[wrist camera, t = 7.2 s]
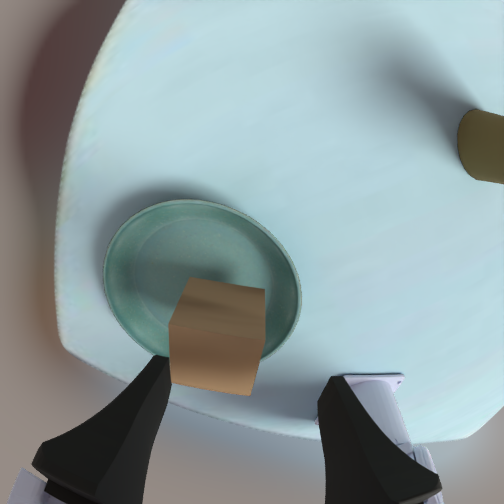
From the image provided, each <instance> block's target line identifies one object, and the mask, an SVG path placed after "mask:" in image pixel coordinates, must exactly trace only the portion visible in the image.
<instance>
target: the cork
mask: <svg viewBox="0 0 504 504" xmlns="http://www.w3.org/2000/svg"><path fill="white" fill-rule="evenodd" d="M457 139H458V151H459V156H460V159H461V162H462V164H463V166H464V169H465V170H466V171H467V172H468V174H469V175H470V176H471V177H473V178H475V179H476V180H481V181H488V182H494V183H500V184H504V116H501V115H497V114H494V113H490V112H486V111H481V110H477V109H475V110H471V111H469V112H468V113H466V114H465V115H464V116H463V118H462V120H461V122H460V124H459V130H458V135H457Z"/></svg>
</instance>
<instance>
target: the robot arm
mask: <svg viewBox="0 0 504 504" xmlns="http://www.w3.org/2000/svg"><path fill="white" fill-rule="evenodd" d="M404 379H405V376H404V374H396V375H345V376H331V377H330V379H329V381H328V383H327V385H326V387H325V388H324V390H323V392H322V394H321V396H320V398H319V400H318V401H317V402H318V417H317V418H316V420H315V424H316V425H319V429H320V435H321V440H322V446H323V452H324V457H325V471H326V496H325V504H445V503H443V497H442V493H441V490H442V486H441V482H440V479H439V476H438V474H437V472H436V469H435V466H434V463H433V460H432V457H431V455H430V453H429V451H428V449H427V447H424V446H421V445H418V446H416V447H414V446H413V445H412V443H411V440H410V437H409V434H408V431H407V428H406V425H405V423H404V420H403V417H402V414H401V411H400V409H399V406H398V403H397V401H396V398H395V396H394V393H395V391H396V390H397V389H398V387H399V386H400V385H401V383H402V382H403V380H404ZM171 386H172V384H171V374H170V362H169V357H165V356H160V355H154V356H153V358H152V359H151V360H150V361H149V363H148V364H147V365H146V366H145V368H144V369H143V370H142V371H141V372H140V373H139V375H138V376H137V377H136V378H135V379H134V380H133V381H132V382H131V383H130V384H129V385H128V387H127V388H126V389H125V390H124V391H122V392H121V394H119V395H118V396H117V397H116V398H115V399H114V400H113V401H112V402H111V403H110V404H108V405H107V406H106V407H105V408H103V409H102V410H101V411H100V412H98V413H97V414H96V415H94V416H93V417H91V418H90V419H88V420H87V421H85V422H84V423H82V424H81V425H79V426H77V427H75V428H73V429H72V430H70V431H68V432H66V433H64V434H62V435H60V436H57V437H55V438H53V439H50V440H48V441H45V442H43V443H42V444H41V446H40V447H39V449H38V451H37V453H36V455H35V457H34V459H33V462H32V466H33V467H34V468H35V469H36V470H37V471H39V472H40V473H41V474H43V475H44V476H45V477H46V478H48V481H47V483H46V482H44V481H43V480H41V479H40V478H38V477H36V476H35V475H33V474H32V473H30V472H28V471H27V470H26V469H24V468H21V469H20V472H19V474H18V476H17V478H16V481H15V483H14V486H13V488H12V491H11V493H10V496H9V498H8V501H7V504H142V501H143V493H144V486H145V480H146V474H147V469H148V464H149V459H150V454H151V450H152V446H153V443H154V440H155V437H156V434H157V431H158V429H159V426H160V423H161V420H162V418H163V415H164V412H165V409H166V406H167V403H168V399H169V395H170V390H171Z"/></svg>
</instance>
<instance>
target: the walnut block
mask: <svg viewBox="0 0 504 504" xmlns="http://www.w3.org/2000/svg"><path fill="white" fill-rule="evenodd" d="M168 330H169V356H170V373H171V383H175V384H180V385H185V386H190V387H195V388H200V389H206V390H211V391H217V392H224V393H231V394H238V395H246V396H250V395H251V391H252V388H253V384H254V381H255V377H256V373H257V370H258V366H259V363H260V359H261V355H262V351H263V348H264V344H265V289H262V288H255V287H249V286H242V285H236V284H230V283H224V282H218V281H212V280H206V279H200V278H194V277H189V279H188V282H187V284H186V286H185V288H184V290H183V292H182V295H181V297H180V299H179V301H178V303H177V306H176V308H175V310H174V312H173V315H172V317H171V319H170V321H169V324H168Z"/></svg>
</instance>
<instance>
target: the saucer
mask: <svg viewBox="0 0 504 504" xmlns="http://www.w3.org/2000/svg"><path fill="white" fill-rule="evenodd" d="M189 277H194V278H200V279H206V280H212V281H218V282H224V283H230V284H236V285H242V286H249V287H255V288H262V289H265V344H264V348H263V351H262V355H261V359H260V362H262V361H264V360H265V359H267V358H269V357H270V356H271V355H273V354H274V353H275V352H277V351H278V350H279V349H280V348H281V347H282V346H283V345H284V344H285V342H286V341H287V340H288V339H289V337H290V336H291V334H292V333H293V331H294V329H295V327H296V325H297V323H298V320H299V316H300V312H301V306H302V292H301V285H300V280H299V276H298V273H297V271H296V268H295V266H294V264H293V262H292V260H291V258H290V256H289V255H288V253H287V252H286V250H285V249H284V247H283V246H282V245H281V243H280V242H279V241H278V240H277V239H276V238H275V237H274V235H273V234H272V233H270V232H269V231H268V230H267V229H266V228H265V227H263V226H262V225H261V224H260V223H258V222H257V221H255V220H254V219H252V218H251V217H249V216H247V215H245V214H243V213H241V212H239V211H237V210H235V209H233V208H230V207H227V206H225V205H222V204H218V203H214V202H209V201H203V200H193V199H178V200H170V201H166V202H161V203H158V204H155V205H152V206H149V207H147V208H145V209H143V210H141V211H139V212H138V213H136V214H134V215H133V216H132V217H130V218H129V219H128V220H127V221H126V222H125V223H124V224H123V225H122V226H121V227H120V228H119V229H118V230H117V232H116V233H115V235H114V237H113V238H112V240H111V242H110V244H109V246H108V249H107V251H106V256H105V259H104V266H103V283H104V290H105V294H106V297H107V301H108V303H109V306H110V308H111V310H112V312H113V314H114V316H115V317H116V319H117V321H118V322H119V324H120V325H121V327H122V328H123V329H124V330H125V331H126V333H127V334H128V335H129V336H130V337H131V338H132V339H133V340H134V341H135V342H136V343H137V344H139V345H140V346H141V347H142V348H144V349H145V350H146V351H148V352H149V353H151V354H152V355H160V356H165V357H169V362H170V356H169V330H168V324H169V321H170V319H171V317H172V315H173V312H174V310H175V308H176V306H177V303H178V301H179V299H180V297H181V295H182V292H183V290H184V288H185V286H186V284H187V282H188V279H189Z"/></svg>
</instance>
